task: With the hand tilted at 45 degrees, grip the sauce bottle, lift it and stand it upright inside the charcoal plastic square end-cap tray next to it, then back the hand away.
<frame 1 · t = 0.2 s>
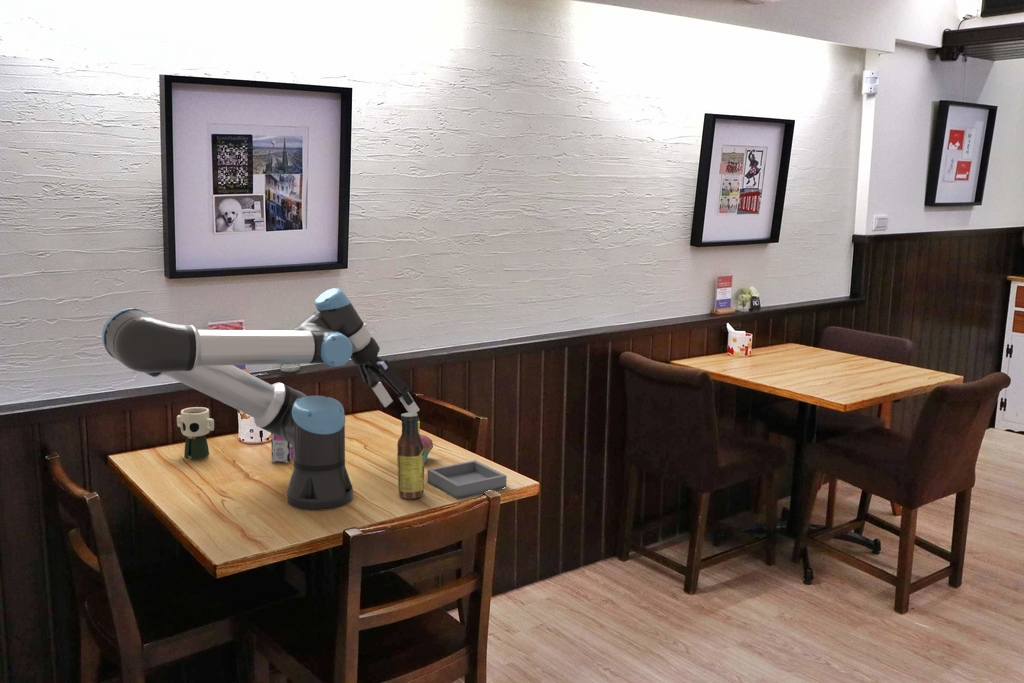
hand: (401, 408, 238), 15 cm above the table, tool tilted 35°, fingers open, 13 cm apart
character mug: (196, 458, 242), on the table
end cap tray: (466, 485, 226), on the table
candy bar box: (285, 457, 245), on the table
sauce bottle: (410, 496, 218), on the table
cupcake: (416, 461, 244), on the table
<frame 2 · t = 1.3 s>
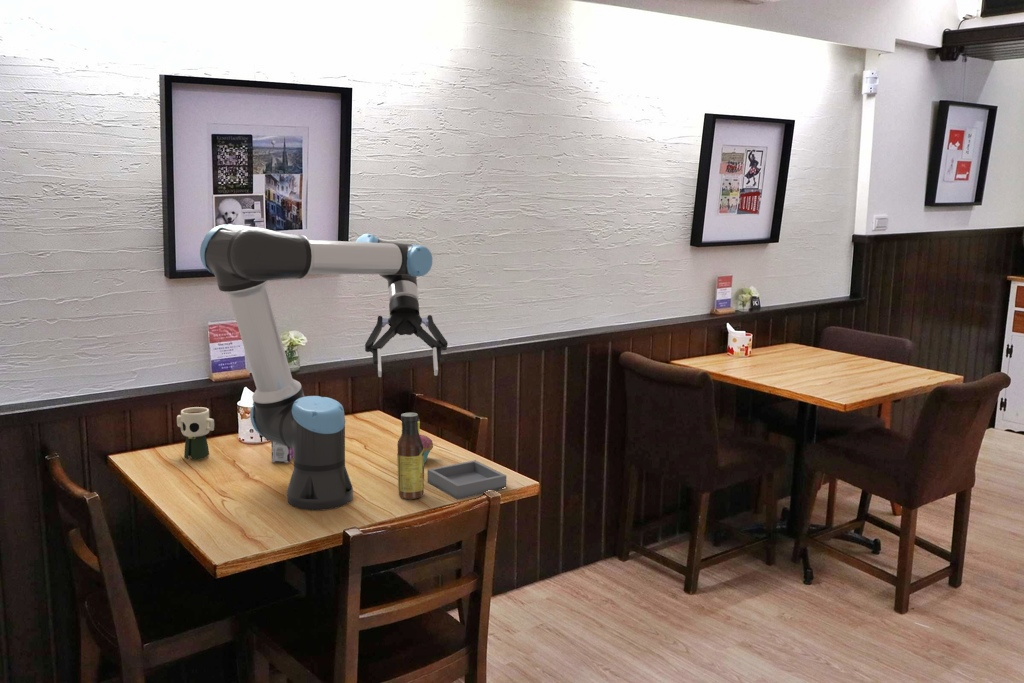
hand: (408, 373, 223), 27 cm above the table, tool tilted 45°, fingers open, 13 cm apart
nothing on the table moved.
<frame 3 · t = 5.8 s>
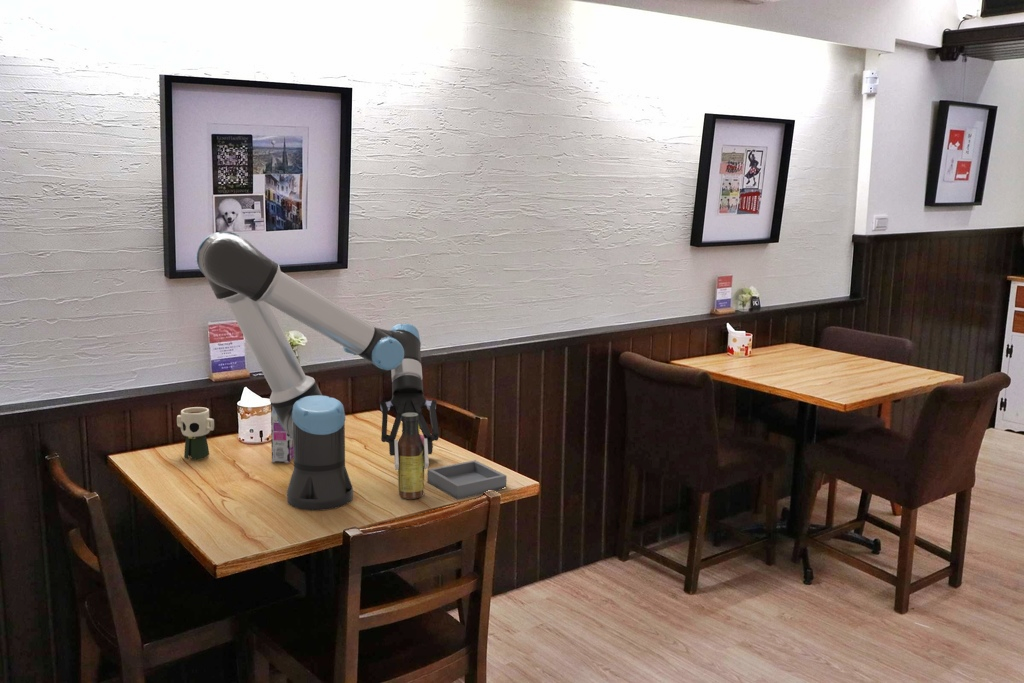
hand: (411, 466, 213), 8 cm above the table, tool tilted 45°, fingers closed on sauce bottle, 6 cm apart
sauce bottle: (410, 496, 218), on the table, touching gripper
everything else where it was.
when the fingers open (11 cm above the table, at t = 12.0 s): sauce bottle drops 1 cm, resting on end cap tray.
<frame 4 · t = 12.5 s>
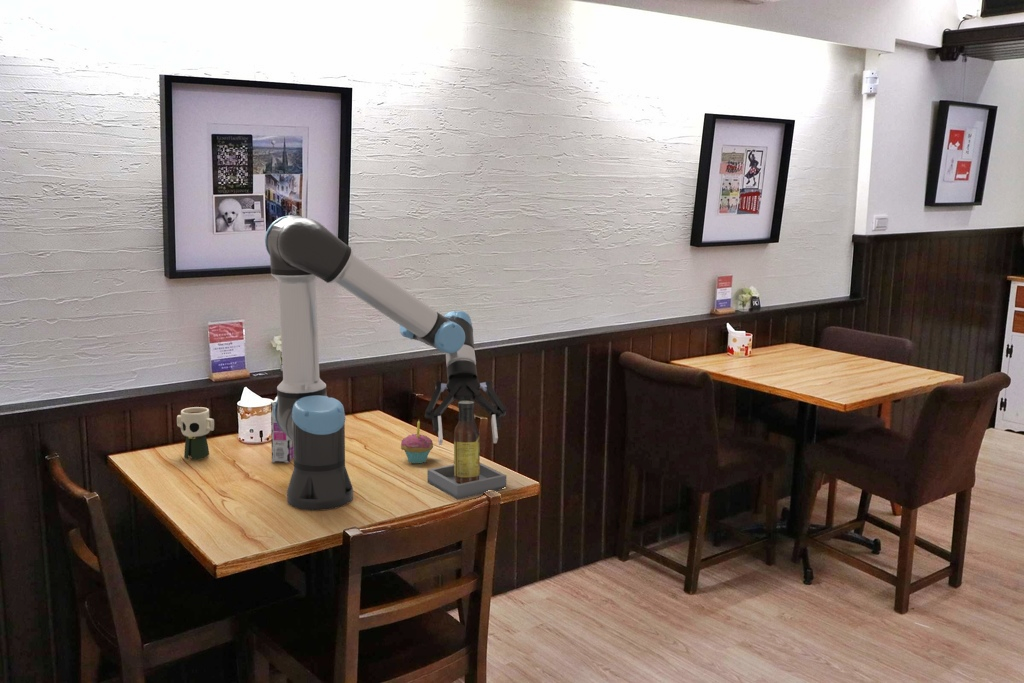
hand: (468, 441, 221), 12 cm above the table, tool tilted 45°, fingers open, 13 cm apart
sauce bottle: (466, 482, 226), point 1 cm above the table, touching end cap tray
everything else where it was.
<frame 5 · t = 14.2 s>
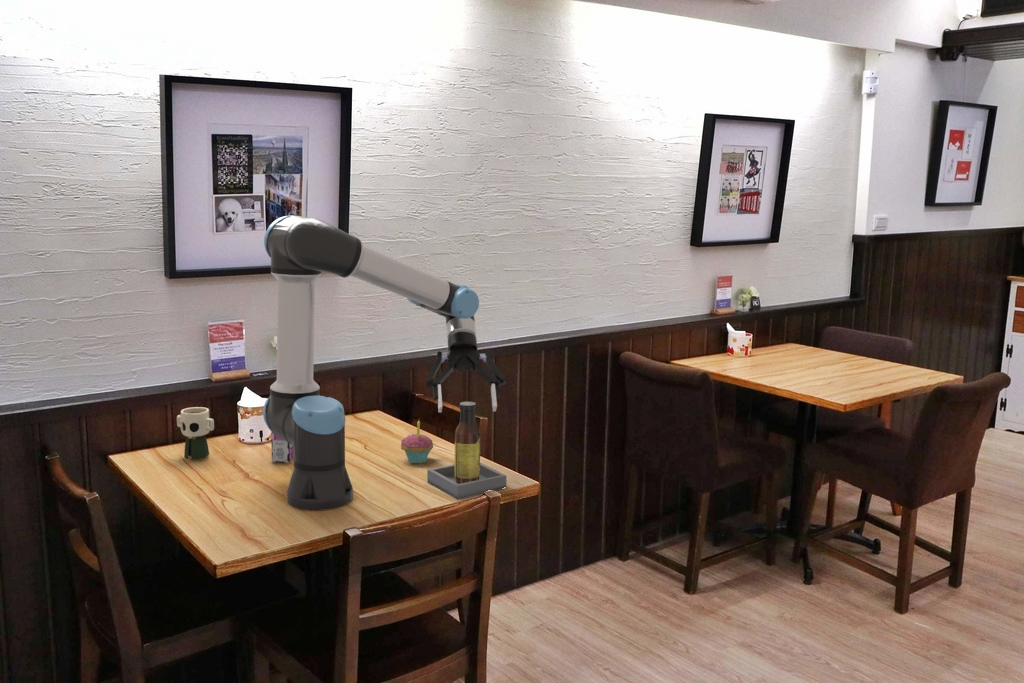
hand: (467, 409, 228), 18 cm above the table, tool tilted 45°, fingers open, 13 cm apart
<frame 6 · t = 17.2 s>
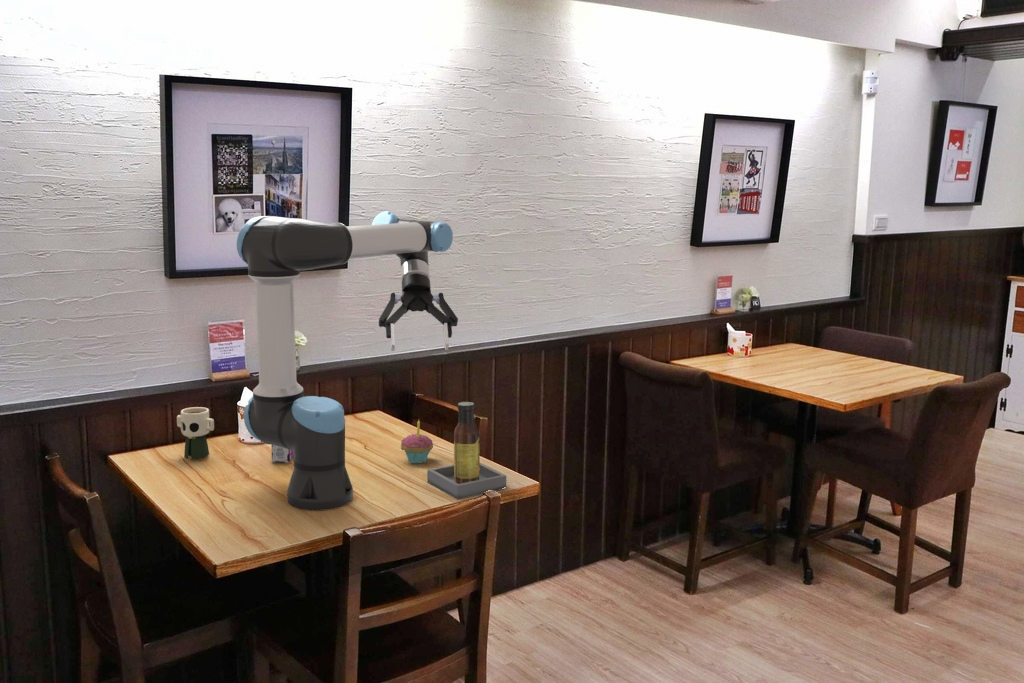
hand: (420, 347, 233), 32 cm above the table, tool tilted 45°, fingers open, 13 cm apart
nothing on the table moved.
at the end: sauce bottle inside the target area on the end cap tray (0.1 cm from its centre), point 0.6 cm above the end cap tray's base; sauce bottle tilted 0°; the gripper is holding nothing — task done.
